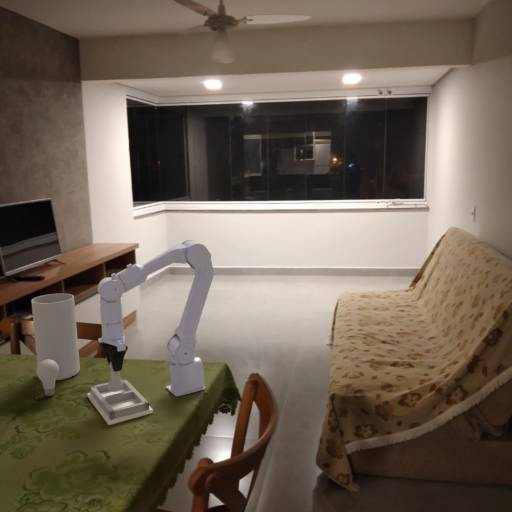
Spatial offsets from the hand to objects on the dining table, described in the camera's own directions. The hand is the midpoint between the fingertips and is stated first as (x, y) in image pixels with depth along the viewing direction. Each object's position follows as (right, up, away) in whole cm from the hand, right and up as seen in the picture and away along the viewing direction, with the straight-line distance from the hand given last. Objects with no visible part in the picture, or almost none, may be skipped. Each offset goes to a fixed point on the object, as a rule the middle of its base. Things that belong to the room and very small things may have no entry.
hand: (115, 368), depth 148 cm
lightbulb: (-21, -10, +6) cm, 24 cm away
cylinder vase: (-24, -7, +23) cm, 34 cm away
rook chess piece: (0, -6, +1) cm, 6 cm away
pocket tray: (+1, -10, 0) cm, 10 cm away
